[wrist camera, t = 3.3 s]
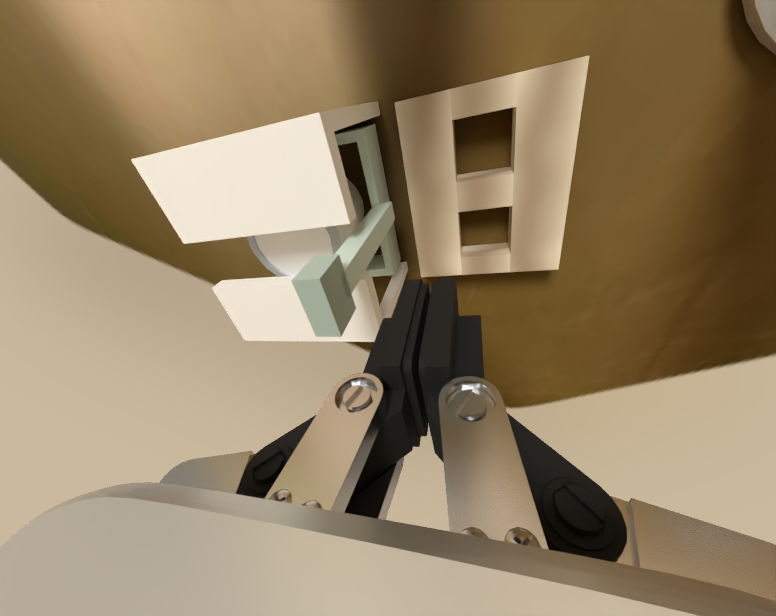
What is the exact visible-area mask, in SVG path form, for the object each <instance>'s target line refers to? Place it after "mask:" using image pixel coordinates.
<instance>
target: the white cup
mask: <svg viewBox="0 0 776 616" xmlns="http://www.w3.org/2000/svg"><path fill="white" fill-rule="evenodd" d="M346 179H347V178H346ZM347 183H348V187H349V191H350V195H351V198H352V202H353V206H354V210H355V214H356V218H355V219H354V220H353V221H352V222H351V223H350V224H345V225H337V226H328V227H320V228H312V229H303V230H295V231H287V232H278V233H270V234H262V235H253V236H246V237H247V239H248V242H249V245H250V247H251V250H252V251H253V252H254V254H255V255H256V256H257V258H258V259H259V260H260V261H261V263H262V264H263V265H264V266H265V267H266V268H267V269H269V270H270V271H271V272H272V273H274V274H275V275H276V276H278V277H281V276H296V275H297V274H298V273H299V272H300V271H301V269H302V268H303V267H304V266H305V265H306V264H307V263H308V262H309V261H310V260H311V259H312V257H313V256H323V255H334V254H335V253H336V252H337V251H338V249H339V248H340V247H341V246H342V244H343V243H344V242H345V241H346V239H347V238H348V237H349V236H350V234H351V233H352V232H353V231H354V230H355V228H356V227H357V226H358V225H359V223H360V222H361V221H362V220H363V217H364V207H363V200H362V198H361V196H360V194H359V192H358V190H357V188H356V186H354V185H353V184H352V183H351V182H350V181H349V180H348V179H347Z"/></svg>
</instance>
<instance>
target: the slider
mask: <svg viewBox="0 0 776 616" xmlns="http://www.w3.org/2000/svg"><path fill="white" fill-rule="evenodd" d="M335 137H336V141H337V145H343V144H348V143H353V142H357V145H358V149H359V153H360V158H361V162H362V167H363V171H364V175H365V180H366V184H367V189H368V193H369V197H370V202H371V206H372V209H371V210H370V211H369V212H368V213H367V215H366V216H365V217H364V218H363V220H362V221H361V222H360V223H359V225H358V226H357V227H356V228H355V230H354V231H353V232H352V233H351V234H350V236H349V237H348V238H347V239H346V241H345V242H344V243H343V244H342V246H341V247H340V248H339V249H338V251H337V252H336V253H335V254H334V255H323V256H313V257H312V259H311V260H310V261H309V262H308V263H307V264H306V265H305V266H304V267H303V268H302V269H301V271H300V272H299V273H298V274H297V275H296V276H295V277H294V278H293V279H292V280H291V281H292V284H293V286H294V288H295V290H296V293H297V295H298V297H299V299H300V302H301V304H302V306H303V308H304V311H305V313H306V315H307V318H308V320H309V322H310V324H311V327H312V329H313V331H314V333H315V336H316V337H342V335H343V333H344V331H345V329H346V327H347V325H348V323H349V321H350V319H351V317H352V315H353V313H354V312H355V310H356V306H355V303H354V300H353V297H352V293H353V291H354V289H355V287H356V286H357V284H358V282H359V281H360V279H361V277H362V275H363V274H364V272H365V271H371V275H372V277H373V276H389V275H395V273H396V270H397V268H398V265H399V263H400V260H401V257H400V252H399V247H398V241H397V236H396V231H395V226H394V220H395V216H394V211H393V205H392V202H390V199H389V194H388V189H387V184H386V178H385V173H384V168H383V163H382V157H381V152H380V147H379V142H378V137H377V131H376V126H375V124H371V125H367V126H363V127H358V128H354V129H349V130H345V131H340V132H336V133H335ZM379 246H381V250H382V255H374V254H375V253H376V251H377V249H378V248H379Z"/></svg>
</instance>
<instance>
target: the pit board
mask: <svg viewBox="0 0 776 616" xmlns="http://www.w3.org/2000/svg"><path fill="white" fill-rule="evenodd" d="M588 62H589V56H585V57H581V58H577V59H572V60H568V61H564V62H560V63H556V64H552V65H548V66H543V67H539V68H535V69H531V70H527V71H523V72H519V73H514V74H510V75H506V76H502V77H498V78H494V79H490V80H485V81H481V82H477V83H473V84H469V85H465V86H461V87H456V88H452V89H448V90H444V91H440V92H436V93H432V94H427V95H423V96H419V97H415V98H411V99H407V100H403V101H399V102H395V110H396V116H397V123H398V129H399V136H400V142H401V149H402V155H403V162H404V168H405V175H406V181H407V188H408V194H409V201H410V207H411V214H412V220H413V227H414V233H415V240H416V246H417V253H418V259H419V266H420V272H421V277H433V276H451V275H469V274H486V273H504V272H521V271H539V270H557V269H558V268H559V262H560V255H561V248H562V241H563V234H564V227H565V220H566V213H567V206H568V200H569V193H570V186H571V179H572V172H573V165H574V158H575V151H576V144H577V138H578V131H579V124H580V117H581V110H582V103H583V96H584V89H585V82H586V76H587V69H588ZM508 108H513V113H512V142H511V167H504V168H498V169H491V170H485V171H478V172H472V173H466V174H459V175H457V160H456V144H455V127H454V120H455V119H460V118H465V117H470V116H475V115H479V114H484V113H489V112H494V111H498V110H503V109H508ZM507 206H509V229H508V243H496V244H484V245H472V246H462V243H461V226H460V212H465V211H473V210H482V209H490V208H499V207H507Z"/></svg>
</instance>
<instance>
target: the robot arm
mask: <svg viewBox="0 0 776 616" xmlns="http://www.w3.org/2000/svg"><path fill="white" fill-rule="evenodd" d="M742 4H743V8H744V13H745V17H746V21H747V23H748V25H749V26H750V28H751V30H752V31H753V33H754V35H755V36H756V38H757V39H758V41H759V42H760V43H761V44H762V45H764V46H765V47H766V48H767V49H769V50H770V51H771V52H772V53H774V54H775V55H776V0H742ZM428 423H429V427H430V432H431V436H432V440H433V445H434V450H435V453H436V454H437V456H438V457H439V458H440V459H441V460H442V461H443V463H444V470H445V482H446V494H447V505H448V516H449V527H450V532H449V531H443V530H438V529H432V528H427V527H421V526H415V525H409V524H404V523H399V522H393V521H387V520H385V519H386V516H387V513H388V510H389V507H390V504H391V501H392V498H393V495H394V492H395V488H396V485H397V482H398V479H399V476H400V473H401V470H402V467H403V461H404V456H405V455H407V454H408V453H409V452H410V451H412V448H413V446H416V447H419V445H420V438H421V436H427V431H428ZM0 616H776V545H774V544H772V543H769V542H766V541H763V540H760V539H756V538H753V537H750V536H747V535H744V534H741V533H737V532H734V531H731V530H728V529H725V528H722V527H719V526H716V525H713V524H710V523H707V522H704V521H700V520H697V519H694V518H691V517H688V516H685V515H682V514H679V513H676V512H673V511H670V510H666V509H663V508H660V507H657V506H654V505H651V504H648V503H645V502H642V501H638V500H635V499H632V498H631V499H630V501H629V502H627V501H624V500H621V499H617V498H614V497H612V496H609V495H608V494H607V493H606V492H605V491H604V490H603V489H602V488H601V487H600V486H599V485H598V484H596V483H595V482H594V481H592V480H591V479H590V478H589V477H587V476H586V475H585V474H583V473H582V472H581V471H580V470H579V469H577V468H576V467H575V466H574V465H572V464H571V463H570V462H569V461H567V460H566V459H565V458H563V457H562V456H561V455H559V454H558V453H557V452H556V451H555V450H553V449H552V448H551V447H549V446H548V445H547V444H546V443H544V442H543V441H542V440H541V439H539V438H538V437H537V436H536V435H534V434H533V433H532V432H531V431H529V430H528V429H527V428H525V427H524V426H523V425H522V424H520V423H519V422H518V421H517V420H515V419H514V418H513V417H512V416H510V415H509V414H508V413H507V412H506V408H505V405H504V401H503V398H502V396H501V394H500V392H499V390H498V389H497V388H496V387H495V386H494V385H493V384H492V383H490V382H488V381H487V380H485V379H484V366H483V349H482V332H481V316H480V315H473V316H459V313H458V300H457V287H456V278H455V277H452V278H439V279H438V283H432V288H431V294H430V291H429V285H428V283H423V282H422V280H421V279H420V280H406V281H405V283H404V286H403V289H402V292H401V295H400V298H399V301H398V304H397V307H396V310H395V314H394V317H393V318H384V319H383V320H382V322H381V325H380V328H379V331H378V333H377V336H376V339H375V342H374V344H373V347H372V350H371V352H370V355H369V358H368V361H367V364H366V366H365V369H364V372H363V373H357V374H353V375H350V376H348V377H346V378H344V379H342V380H341V381H340V382H338V383H337V385H336V386H335V387H334V388H333V390H332V391H331V393H330V394H329V396H328V397H327V399H326V401H325V402H324V404H323V405H322V407H321V409H320V410H319V412H318V413H317V415H315V416H314V417H312V418H310V419H309V420H307V421H306V422H304V423H302V424H301V425H299V426H298V427H296V428H294V429H293V430H291V431H290V432H288V433H286V434H285V435H283V436H281V437H280V438H278V439H277V440H275V441H274V442H272V443H270V444H269V445H267V446H265V447H264V448H263V449H261V450H260V451H259V452H258V453H256V454H253V452H252V451H248V452H241V453H235V454H227V455H220V456H212V457H205V458H198V459H192V460H188V461H185V462H182V463H181V464H179V465H177V466H176V467H174V468H173V469H172V470H171V471H169V472H168V473H167V474H166V475H165V476H164V477H163V479H162V480H161V481H160V483H149V482H148V483H130V484H122V485H117V486H112V487H108V488H104V489H100V490H97V491H94V492H90V493H87V494H84V495H81V496H78V497H75V498H73V499H70V500H68V501H66V502H63V503H61V504H59V505H57V506H55V507H53V508H51V509H49V510H47V511H46V512H44V513H42V514H41V515H39V516H38V517H36V518H35V519H33V520H32V521H30V522H29V523H28V524H27V525H25V526H24V527H23V528H22V529H20V530H19V531H18V532H17V533H16V534H15V535H13V536H12V537H11V538H10V539H9V540H8V541H7V542H6V543H5V544H3V545H2V546H1V547H0Z"/></svg>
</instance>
